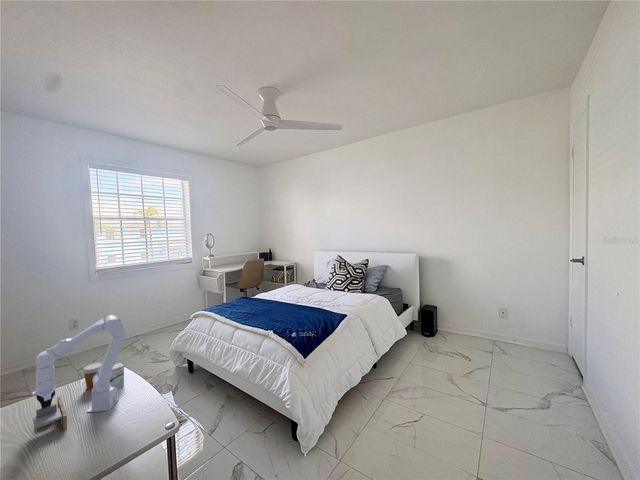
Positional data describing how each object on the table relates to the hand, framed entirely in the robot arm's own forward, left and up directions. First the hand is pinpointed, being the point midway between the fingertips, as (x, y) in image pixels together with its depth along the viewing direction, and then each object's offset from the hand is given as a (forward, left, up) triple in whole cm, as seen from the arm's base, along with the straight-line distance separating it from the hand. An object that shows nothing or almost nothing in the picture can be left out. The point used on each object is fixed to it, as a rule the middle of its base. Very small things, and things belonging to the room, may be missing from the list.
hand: (46, 409), depth 114 cm
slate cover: (-3, +3, -2) cm, 5 cm away
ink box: (-11, -27, -8) cm, 30 cm away
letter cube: (+2, -2, -8) cm, 8 cm away
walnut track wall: (-3, -4, -7) cm, 9 cm away
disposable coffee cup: (0, -29, -8) cm, 30 cm away
